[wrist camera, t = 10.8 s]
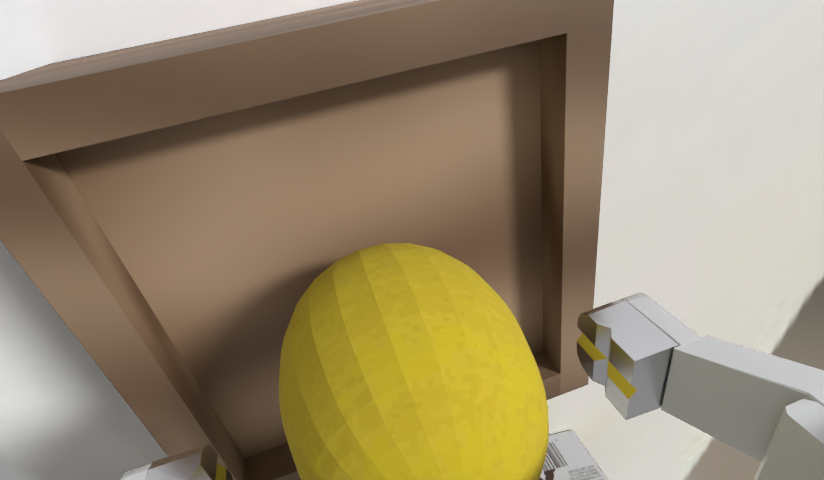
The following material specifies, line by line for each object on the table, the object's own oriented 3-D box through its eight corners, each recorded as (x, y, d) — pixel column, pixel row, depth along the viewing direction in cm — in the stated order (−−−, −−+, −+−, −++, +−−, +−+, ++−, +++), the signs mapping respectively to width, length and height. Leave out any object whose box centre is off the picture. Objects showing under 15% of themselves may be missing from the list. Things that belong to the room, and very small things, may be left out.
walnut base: (49, 64, 13) (-98, 113, 8) (494, -28, 15) (616, -37, 10) (231, 385, 20) (220, 523, 15) (512, 293, 22) (587, 384, 17)
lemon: (297, 367, 14) (324, 702, 8) (253, 214, 11) (238, 530, 5) (458, 326, 15) (607, 586, 9) (455, 177, 13) (672, 392, 6)
